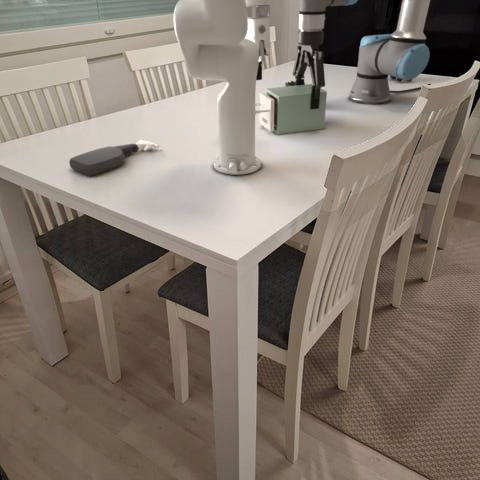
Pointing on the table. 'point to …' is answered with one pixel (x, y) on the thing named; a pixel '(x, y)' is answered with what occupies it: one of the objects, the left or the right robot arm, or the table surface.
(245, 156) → the left robot arm
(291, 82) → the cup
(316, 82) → the right robot arm
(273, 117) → the drawer
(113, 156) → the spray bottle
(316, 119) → the mint green storage box
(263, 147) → the table surface
